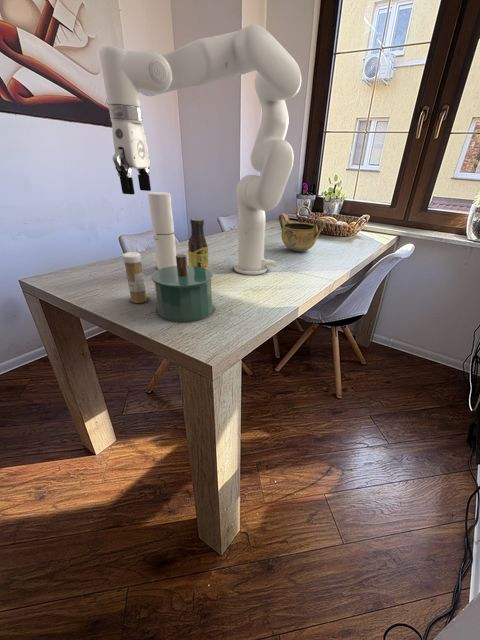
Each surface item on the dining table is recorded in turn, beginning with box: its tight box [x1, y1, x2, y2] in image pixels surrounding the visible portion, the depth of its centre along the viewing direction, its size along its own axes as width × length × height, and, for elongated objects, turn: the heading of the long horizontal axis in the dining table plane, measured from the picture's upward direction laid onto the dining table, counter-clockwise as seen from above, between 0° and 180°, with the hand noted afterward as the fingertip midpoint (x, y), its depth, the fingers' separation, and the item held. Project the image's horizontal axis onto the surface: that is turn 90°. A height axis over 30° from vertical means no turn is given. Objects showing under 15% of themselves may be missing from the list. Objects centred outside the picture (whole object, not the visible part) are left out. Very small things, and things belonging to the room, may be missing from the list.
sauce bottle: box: [187, 217, 209, 270], centre depth 100 cm, size 7×6×20 cm
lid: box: [151, 253, 214, 288], centre depth 80 cm, size 16×16×6 cm
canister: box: [153, 280, 213, 323], centre depth 84 cm, size 15×15×10 cm
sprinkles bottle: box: [122, 251, 148, 304], centre depth 86 cm, size 5×5×13 cm
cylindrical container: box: [147, 191, 177, 270], centre depth 109 cm, size 7×7×25 cm
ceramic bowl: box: [278, 213, 327, 253], centre depth 142 cm, size 22×17×15 cm
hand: (137, 192), depth 87 cm, fingers open, 9 cm apart
